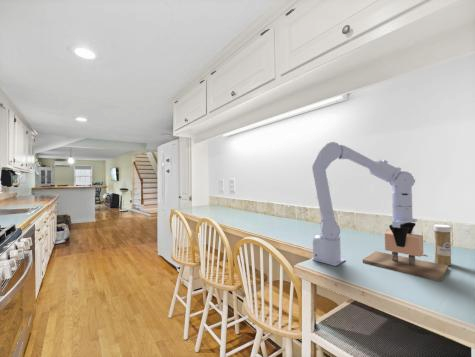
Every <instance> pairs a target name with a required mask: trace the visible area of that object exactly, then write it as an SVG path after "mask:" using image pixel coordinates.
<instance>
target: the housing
mask: <svg viewBox="0 0 475 357" xmlns="http://www.w3.org/2000/svg"><path fill="white" fill-rule="evenodd" d="M384 250H385V251H387V252H388V251H389V252H391V253H392V252H397V253H398V254H403V255H408V256H409V255H413V256H415V257H419V258H420V257H422V255H423V254H424V235H421V234H415V233H411V234H408V233H407V236H406V242H405V246H404V247H399V246H397V245H396V242H395V238H394V235H393V233H392V231H391V230H389V231H386V232H385V233H384Z"/></svg>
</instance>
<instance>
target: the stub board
mask: <svg viewBox="0 0 475 357" xmlns="http://www.w3.org/2000/svg"><path fill="white" fill-rule="evenodd" d="M362 263H363V264H368V265H372V266H376V267H381V268H383V269H388V270H392V271H398V272H401V273H404V274H409V275H413V276H417V277H422V278H424V279H429V280H433V281H438V282H442V280H443V278H444V277H445V275H446V273H447V272H448V270H449V265H448V266H447V265H442V264H437V263H435V262H431V261H427V260H421V259H417V258H416V256H413V255H408V257H406V256H402V255H399V253H397V252H392V251H391V253H388V252H387V253H386V252H383V251H382V252H381V251H374V252H372V253H371V254H369V255H368V256H366V257H364V258H363V259H362Z"/></svg>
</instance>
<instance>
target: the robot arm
mask: <svg viewBox="0 0 475 357" xmlns="http://www.w3.org/2000/svg"><path fill="white" fill-rule="evenodd" d="M337 159H338V160H349V161H351V162H353V163H355V164H357V165H359V166H361V167H363V168H366V169H368V171H369V173H370V174H371V175H372V176H373V177H376V178H379V179H380V180H383V181H384V182H386V183H389V185H390V186H391V204H392V209H391V210H392V211H391V212H392V217H391V222H392V224H389V226H388V227H389V229H390V231H392V233H393V235H394V238H395V242H396V245H397V246H399V247H404V246H405V242H406V236H407V233H408V234H413V233H412V232H413V230H414V228H415V226H416V222H418V219H417V218H413V193H412V192H413V189H412V188H413V186H414V185H415V183H416V179H414V176H413V174H412V173H410V172H409V171H405V170H404V171H401V170H402V168H401V167H400V166H399V167H398V166H397V167H396V166H394V165H392V164H390V163H388V162H389V161H387V160H386V159H382V160H381V159H378V160H373V159H371V158H369V157H367V156H365V155H363V154H361V153H360V152H358V151H356V150H354V149H352V148H350V147H348V146H346V145H343V144H339V143H338V142H334V141H333V142H332V141H330V142H327V143H326V144H325V145H324V146H322V148H321V149H320V150H319V152H318V154H317V156H316V158H315V160H314V161H313V164H312V167H311V168H312V174H313V178H314V185H315V189H316V190H315V191H316V195H317V200H318V206H319V211H320V212H319V213H320V217H321V218H320V220H321V221H320V223H319V226H320V230H321V233H320V234H319V235H318V234H317V235H315V236H314V238H313V240H312V259H311V260H312V261H316V262H320V263H324V264H326V265H331V266H334V267H336V266H338V265H340V264H342V263H343V262H345V261H346V259H345V258H342V255H341V250H342V249H341V236H340V234H341V228H340V226H339V225H338V224H337V220H336V217H335V213H334V210H333V203H332V198H331V192H330V186H329V182H328V177H327V172H326V171H327V169H328V167H329V166H330V165H331V163H333V162H335V161H336V160H337Z"/></svg>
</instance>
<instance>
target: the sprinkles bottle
mask: <svg viewBox="0 0 475 357" xmlns="http://www.w3.org/2000/svg"><path fill="white" fill-rule="evenodd" d="M433 231H434V240H433V242H434V263H437V264H442V265H447V266H448V267H449V266H452V245H451V244H452V243H451V242H452V241H451V240H452V239H451V232H452V228H451V225H447V224H434V225H433Z"/></svg>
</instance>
